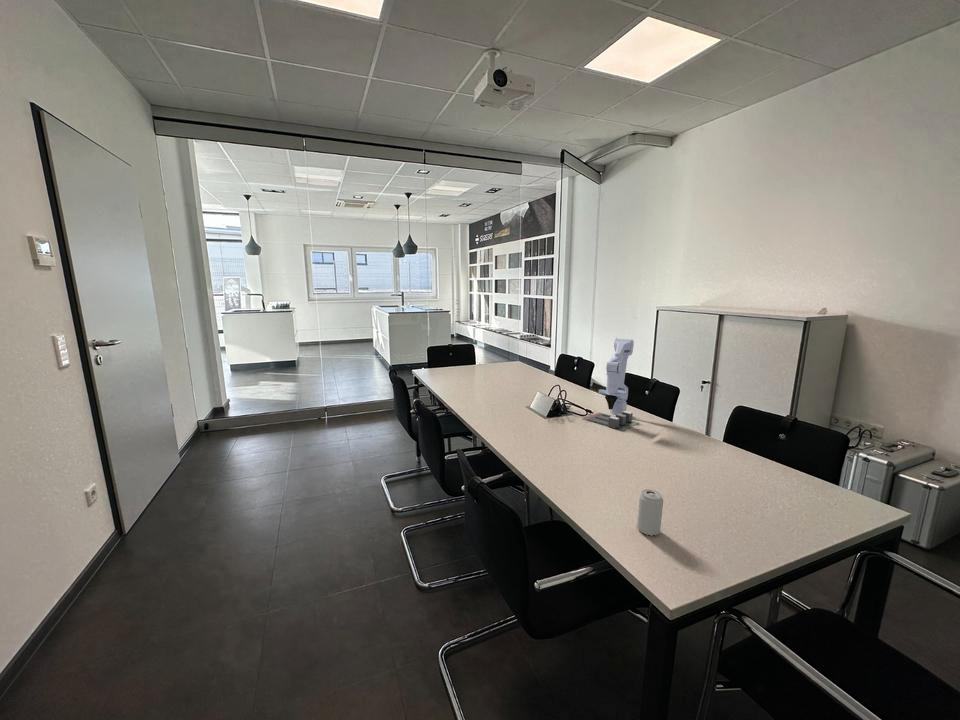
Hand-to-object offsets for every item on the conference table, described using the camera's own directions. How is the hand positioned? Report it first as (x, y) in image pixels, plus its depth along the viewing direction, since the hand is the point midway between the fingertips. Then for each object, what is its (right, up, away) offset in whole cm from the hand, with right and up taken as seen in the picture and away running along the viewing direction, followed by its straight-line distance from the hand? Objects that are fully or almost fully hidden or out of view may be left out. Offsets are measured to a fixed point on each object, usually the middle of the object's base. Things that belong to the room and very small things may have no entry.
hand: (610, 408), depth 210 cm
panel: (0, -8, +2) cm, 8 cm away
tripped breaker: (+4, -8, -3) cm, 9 cm away
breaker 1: (-1, -8, -8) cm, 12 cm away
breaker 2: (+9, -7, +2) cm, 11 cm away
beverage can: (-19, -25, -92) cm, 97 cm away
